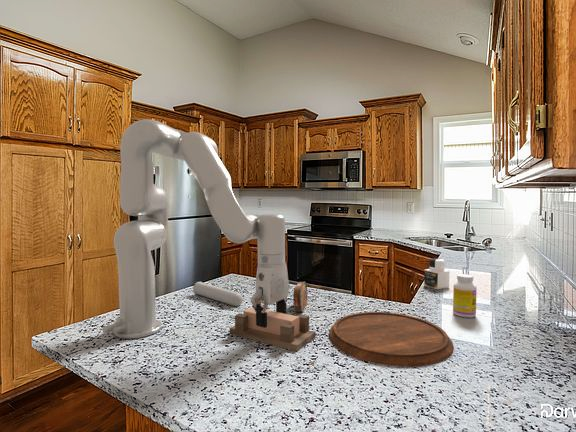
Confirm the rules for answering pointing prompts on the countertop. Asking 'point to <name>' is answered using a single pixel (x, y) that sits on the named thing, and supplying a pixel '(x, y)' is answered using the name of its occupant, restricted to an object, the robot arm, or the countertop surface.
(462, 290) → the supplement bottle
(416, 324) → the cutting board
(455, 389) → the countertop surface
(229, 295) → the tube
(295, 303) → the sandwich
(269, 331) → the clay strip
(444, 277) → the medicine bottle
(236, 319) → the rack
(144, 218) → the robot arm
